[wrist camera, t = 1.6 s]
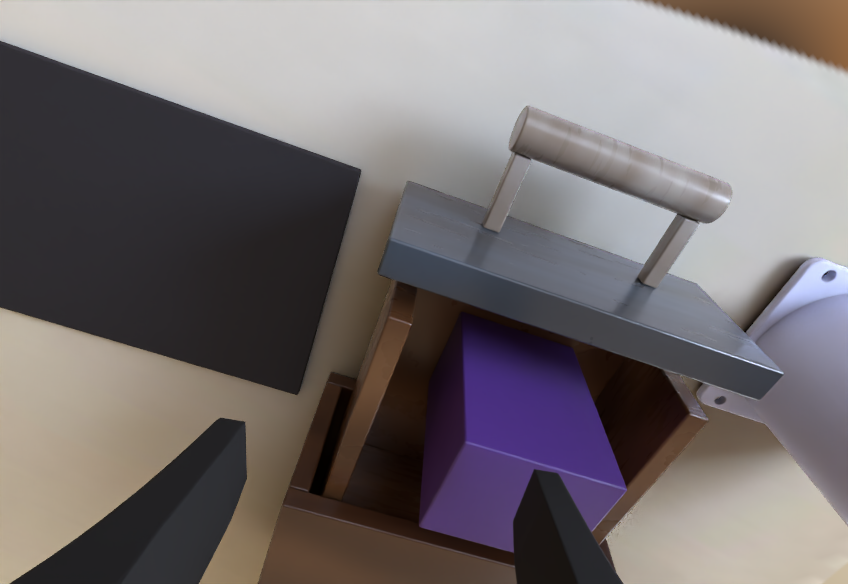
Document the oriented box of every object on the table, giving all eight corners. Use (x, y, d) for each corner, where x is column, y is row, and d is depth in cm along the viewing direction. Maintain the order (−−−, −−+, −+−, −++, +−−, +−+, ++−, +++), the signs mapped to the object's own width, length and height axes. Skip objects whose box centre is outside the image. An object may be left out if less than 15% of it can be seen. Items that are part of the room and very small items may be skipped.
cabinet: (330, 371, 23) (281, 504, 17) (578, 446, 25) (624, 596, 18) (277, 539, 30) (227, 682, 24) (474, 590, 32) (480, 738, 25)
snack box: (573, 347, 19) (628, 490, 13) (531, 414, 21) (563, 567, 15) (461, 310, 19) (465, 441, 13) (428, 382, 21) (417, 527, 15)
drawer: (444, 68, 16) (440, 83, 11) (763, 192, 17) (894, 258, 12) (325, 426, 24) (290, 531, 19) (547, 490, 25) (571, 605, 20)
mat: (362, 169, 18) (360, 172, 18) (299, 390, 24) (297, 395, 24) (-131, -7, 16) (-144, -7, 16) (-73, 279, 22) (-82, 283, 22)
